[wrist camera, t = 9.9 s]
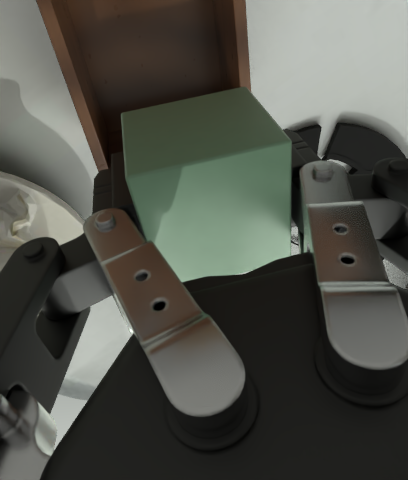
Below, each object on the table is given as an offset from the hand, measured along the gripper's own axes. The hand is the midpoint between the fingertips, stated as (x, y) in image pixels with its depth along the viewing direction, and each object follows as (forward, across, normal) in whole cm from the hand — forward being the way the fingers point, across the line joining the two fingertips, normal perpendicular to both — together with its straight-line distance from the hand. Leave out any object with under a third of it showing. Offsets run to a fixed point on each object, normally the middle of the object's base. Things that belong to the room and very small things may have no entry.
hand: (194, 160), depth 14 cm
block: (0, 0, 0) cm, 0 cm away
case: (+21, 0, 0) cm, 21 cm away
